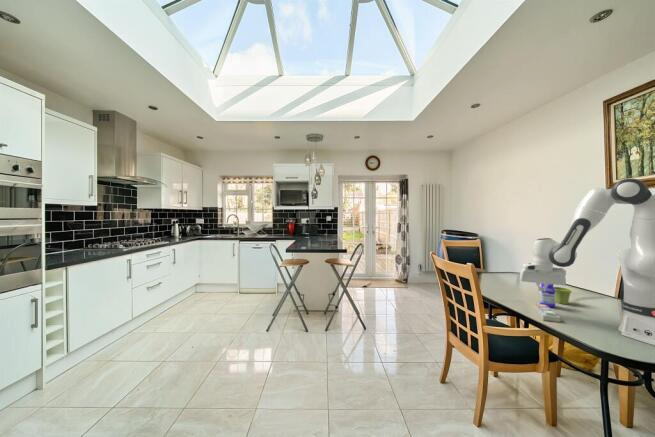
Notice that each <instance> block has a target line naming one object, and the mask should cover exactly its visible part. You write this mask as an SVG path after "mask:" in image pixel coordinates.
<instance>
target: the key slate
mask: <svg viewBox="0 0 655 437" xmlns="http://www.w3.org/2000/svg"><path fill="white" fill-rule="evenodd" d="M540 310H541V311H542V312H543V310H547V311H552V310H553V309H551V307H549V308H545V307H540Z"/></svg>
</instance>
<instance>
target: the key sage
mask: <svg viewBox="0 0 655 437" xmlns="http://www.w3.org/2000/svg"><path fill="white" fill-rule="evenodd" d="M553 311H554V310H553ZM553 311H547V310H543V313H544V314H545V315H549V316H556V314H557V313H556V312H555V311H554V312H555V313H556V314H555V313H554V312H553Z"/></svg>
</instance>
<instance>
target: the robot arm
mask: <svg viewBox="0 0 655 437" xmlns="http://www.w3.org/2000/svg"><path fill="white" fill-rule="evenodd" d="M615 204H623V205H632V207H633V208H634V213H633V218H632V220H631V227H630V230H629V238H630V246H631V248H628V249H625V250H623V251H621V252H620V254H618V261H619V264H620V269H621V270H620V271H621V277H622V281H623V300H622V303H621V304H622V306H621V307H622V317H621V321H620V324H619V327H618V328H617V330H618V331H619V332H620V333H621V335H622V336H624V337H627V338H631V339H632V340H637V341H640V342H643V343H646V344H649V345H652V346H654V347H655V194H652V192H651V191H650V189H649V187H648V186H647V184H646V183H645V182H644V181H642V180H641V179H637V178H624V179H621V180H619V181H617V182H616V183H614V184H613V186H612V187H611V188H603V187H602V188H601V187H599V188H598V187H597V188H591V189H590V190H589V191H588V192H587V193H586V194H585V195H584V197H582V199H581V200H580V202H579V203H578V205H577V207H576V208H575V210H574V213H573V215H572V219H571V222H570V223H571V224H570V227H569V229H568V231H567V233H566V234H565V236H564V237H563V239H562V240H561V242H558V241H556V240H554V239H553V238H549V237H545V238H544V237H543V238H538V239H535V241H534V242H533V246H532V247H533V248H532V254H533V258H532V261H531V262H527V263H522V268H521V270H520V272H519V280H520V281H521V282H525V283H535V285H536V287H537V291H545V289H546V288H547V287H548V284H553V285H555V286H565V285H567V280H566V275H567V271H566V269H565V268H567V267H570V266H572V265H573V264H574V263H575V262H576V258H577V255H578V254H577V251H576V250H577V249H578V247H579V246H580V244H581V242H582V241H583V239H584V237H585V236H586V235H587V234H588V233H589V232H590V231H591V230H593V229H594V228H595V227H597V226H598V225H599V224H600V222H602V220H603V219H604V218H605V217H606V214H607V213H608V212H609V210H610V209H611V208H612V206H613V205H615ZM554 266H557V267H554ZM541 283H543V284H544V287H543V288H542V287H541Z"/></svg>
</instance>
